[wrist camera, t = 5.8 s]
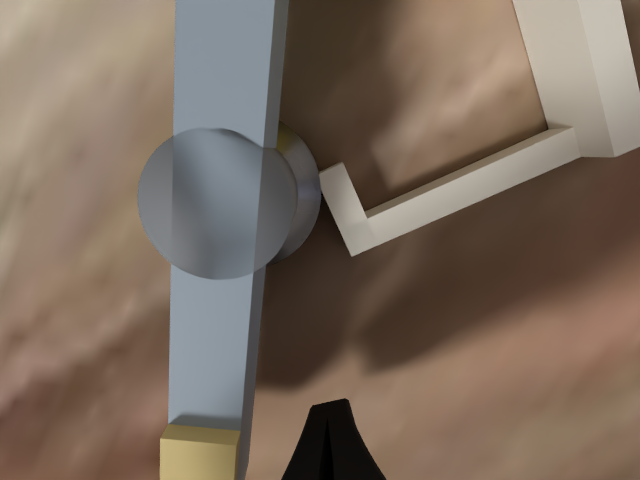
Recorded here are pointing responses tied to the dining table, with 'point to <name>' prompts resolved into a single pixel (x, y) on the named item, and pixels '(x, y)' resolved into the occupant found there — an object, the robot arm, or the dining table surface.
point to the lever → (218, 224)
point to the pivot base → (299, 190)
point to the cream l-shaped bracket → (535, 152)
